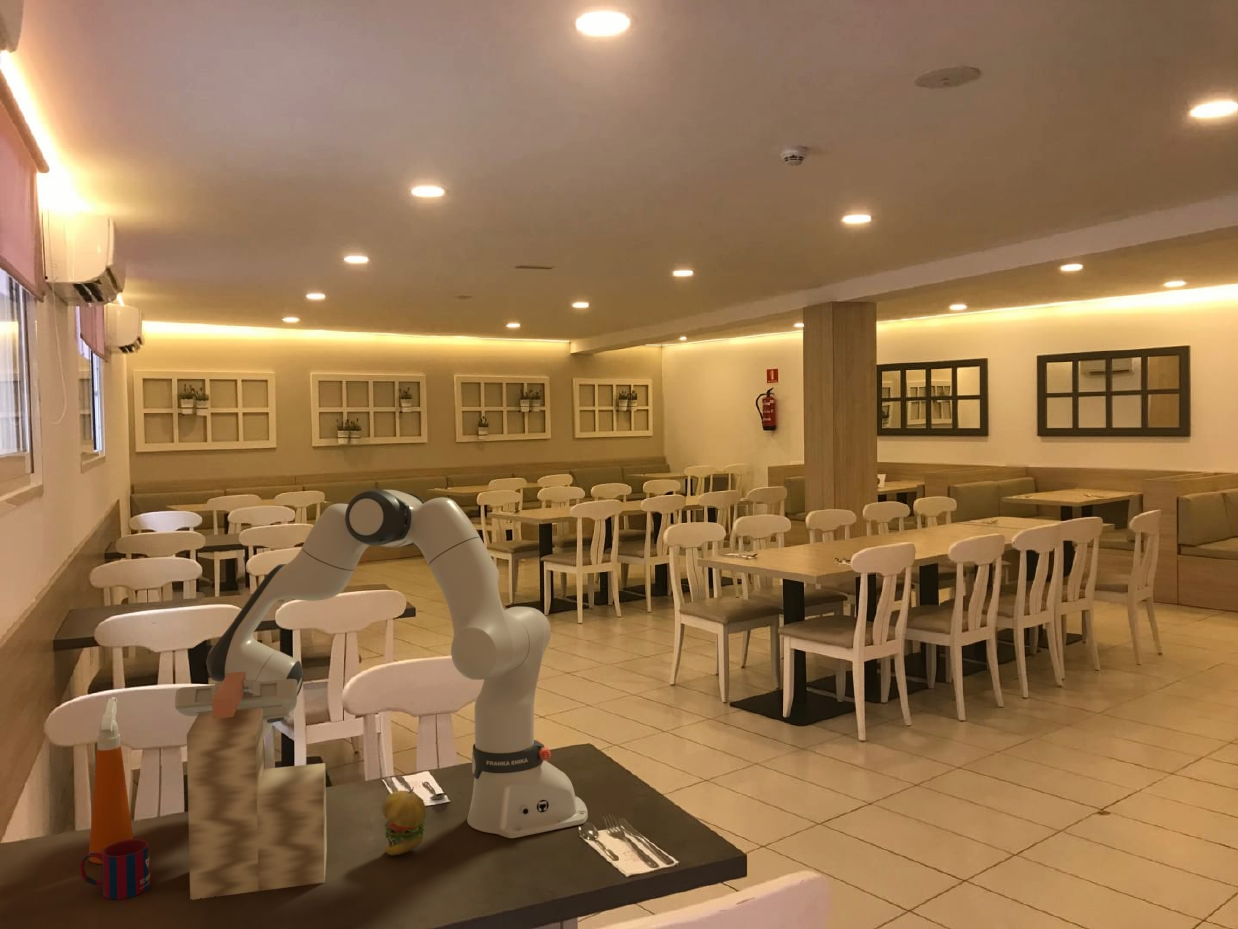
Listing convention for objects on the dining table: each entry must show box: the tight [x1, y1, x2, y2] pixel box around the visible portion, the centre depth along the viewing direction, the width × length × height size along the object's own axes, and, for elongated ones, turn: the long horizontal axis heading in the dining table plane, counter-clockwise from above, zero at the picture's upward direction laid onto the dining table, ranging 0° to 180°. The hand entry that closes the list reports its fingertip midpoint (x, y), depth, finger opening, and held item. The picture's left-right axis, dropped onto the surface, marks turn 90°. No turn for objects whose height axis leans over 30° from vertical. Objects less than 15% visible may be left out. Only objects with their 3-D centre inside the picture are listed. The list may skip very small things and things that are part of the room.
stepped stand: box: [186, 708, 328, 900], centre depth 155 cm, size 20×12×26 cm, turn 106°
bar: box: [212, 672, 246, 719], centre depth 158 cm, size 3×18×3 cm, turn 16°
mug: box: [79, 838, 151, 900], centre depth 150 cm, size 7×10×7 cm
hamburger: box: [381, 786, 427, 856], centre depth 162 cm, size 8×7×12 cm
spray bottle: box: [88, 696, 134, 865], centre depth 164 cm, size 7×11×26 cm, turn 21°
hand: (233, 684), depth 162 cm, fingers closed on bar, 3 cm apart
